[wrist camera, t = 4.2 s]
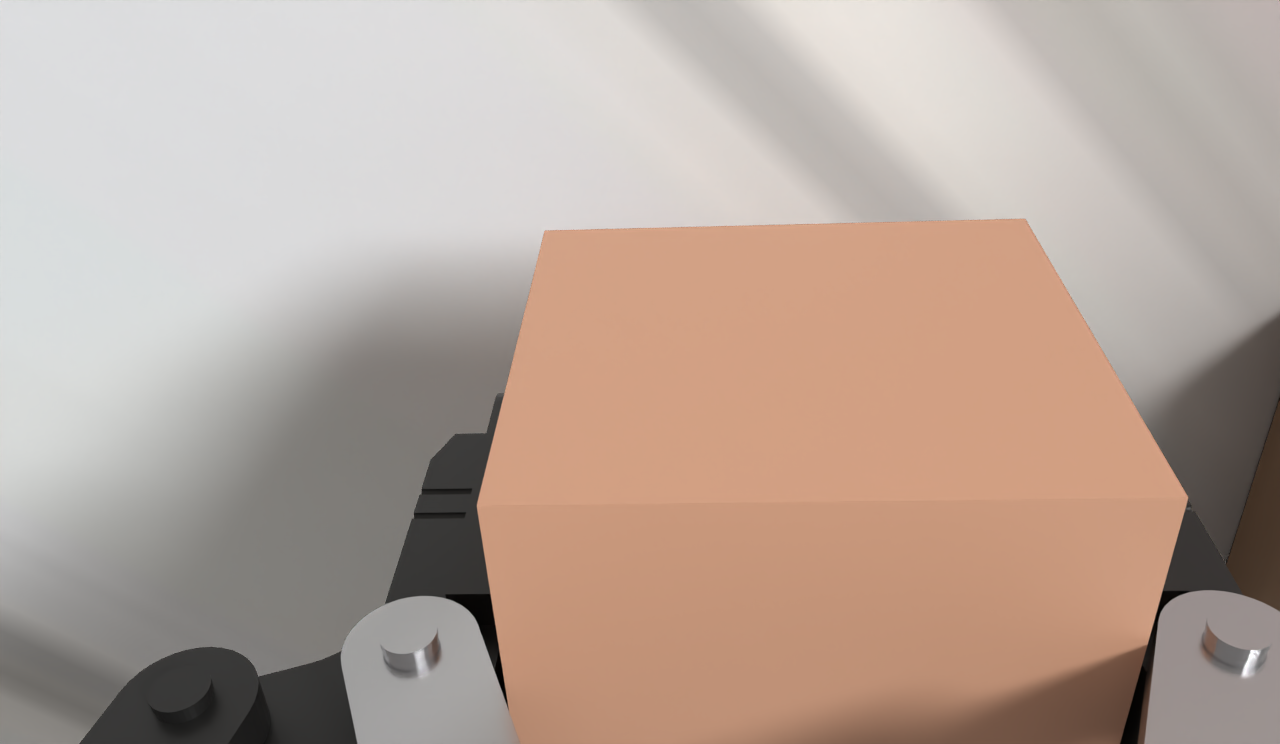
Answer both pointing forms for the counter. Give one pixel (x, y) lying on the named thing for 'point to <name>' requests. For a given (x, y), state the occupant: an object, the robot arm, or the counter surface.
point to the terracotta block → (819, 493)
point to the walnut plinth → (1261, 528)
